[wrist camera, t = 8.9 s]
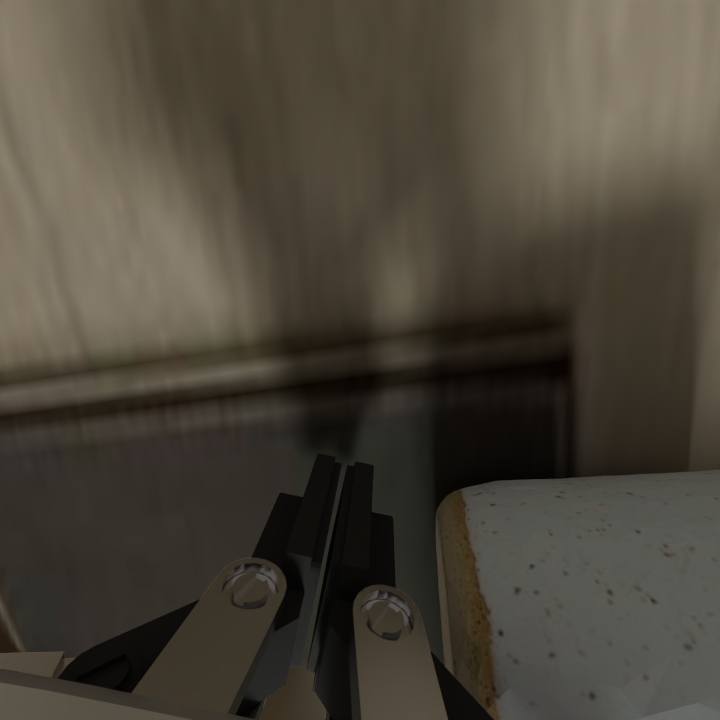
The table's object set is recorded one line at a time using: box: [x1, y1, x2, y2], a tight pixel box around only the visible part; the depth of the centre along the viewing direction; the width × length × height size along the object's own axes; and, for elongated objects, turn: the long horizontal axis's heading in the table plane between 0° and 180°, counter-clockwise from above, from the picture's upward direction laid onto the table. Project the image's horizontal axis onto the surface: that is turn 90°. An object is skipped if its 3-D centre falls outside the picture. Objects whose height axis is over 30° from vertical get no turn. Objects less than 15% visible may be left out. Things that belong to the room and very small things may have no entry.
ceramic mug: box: [436, 469, 720, 720], centre depth 10 cm, size 11×8×8 cm
